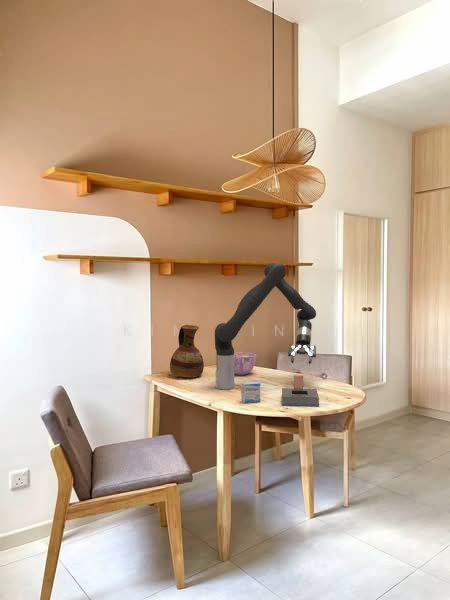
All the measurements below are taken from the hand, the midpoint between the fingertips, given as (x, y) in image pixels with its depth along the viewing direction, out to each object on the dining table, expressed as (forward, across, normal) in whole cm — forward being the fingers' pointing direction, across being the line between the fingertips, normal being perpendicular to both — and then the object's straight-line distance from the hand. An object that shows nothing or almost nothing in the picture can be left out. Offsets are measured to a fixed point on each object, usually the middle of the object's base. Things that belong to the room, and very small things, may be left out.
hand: (300, 362), depth 229 cm
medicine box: (+32, -18, -13) cm, 39 cm away
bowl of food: (-10, -40, +29) cm, 50 cm away
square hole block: (+27, +3, -8) cm, 28 cm away
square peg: (+16, 0, +3) cm, 16 cm away
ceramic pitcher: (0, -68, +18) cm, 70 cm away
